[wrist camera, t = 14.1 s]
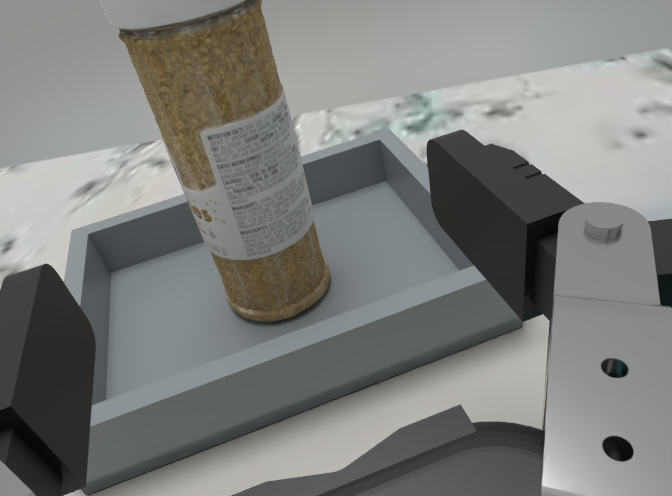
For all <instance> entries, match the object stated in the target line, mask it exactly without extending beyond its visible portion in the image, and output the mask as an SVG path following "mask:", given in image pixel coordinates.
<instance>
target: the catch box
mask: <svg viewBox="0 0 672 496" xmlns="http://www.w3.org/2000/svg"><path fill="white" fill-rule="evenodd" d="M301 161H302V165H303V169H304V174H305V178H306V182H307V186H308V190H309V195H310V199H311V203H312V207H313V212H314V219H313V221H314V223H315V227H316V231H317V236H318V240H319V244H320V248H321V251H322V255H323V257H324V258H325V259H326V261H327V264H328V266H329V271H330V279H329V283H328V287H327V289H326V291H325V293H324V295H323V296H322V297H321V298H320V299H319V300H318V301H317V302H316V303H315V304H313V305H312V306H311V307H309V308H308V309H306V310H304V311H302V312H300V313H299V314H297V315H295V316H292V317H290V318H286V319H282V320H278V321H272V322H260V321H255V320H248V319H246V318H244V317H243V316H241V315H239V314H238V313H236V312H235V311H234V310H233V309H232V308H231V307H230V305H229V303H228V301H227V299H226V296H225V286H224V284H223V282H222V278H221V276H220V273H219V271H218V269H217V267H216V265H215V262H214V259H213V257H212V255H211V252H210V250H209V249H208V247H207V246H206V244H205V242H204V240H203V238H202V235H201V233H200V230H199V228H198V225H197V223H196V220H195V218H194V216H193V213H192V211H191V208H190V206H189V203H188V201H187V198H186V196H185V194H184V195H180V196H177V197H174V198H171V199H168V200H165V201H162V202H159V203H156V204H152V205H149V206H146V207H143V208H140V209H137V210H134V211H131V212H128V213H124V214H121V215H118V216H115V217H112V218H109V219H106V220H103V221H100V222H96V223H93V224H90V225H87V226H84V227H81V228H78V229H75V230H72V233H71V239H70V246H69V252H68V259H67V266H66V272H65V279H64V284H65V285H66V287H67V288H68V290H69V291H70V293H71V294H72V296H73V297H74V299H75V300H76V302H77V303H78V305H79V306H80V308H81V309H82V310H83V312H84V313H85V315H86V316H87V318H88V320H89V322H90V324H91V326H92V329H93V332H94V336H95V341H96V354H95V368H94V382H93V396H92V410H91V423H90V437H89V451H88V465H87V479H86V487H84V488H82V489H81V490H82V491H83V492H84V493H85V494H86V495H89V494H92V493H94V492H97V491H99V490H102V489H105V488H107V487H110V486H112V485H115V484H117V483H120V482H123V481H125V480H128V479H130V478H133V477H135V476H138V475H141V474H143V473H146V472H148V471H151V470H154V469H156V468H159V467H161V466H164V465H166V464H169V463H172V462H174V461H177V460H179V459H182V458H184V457H187V456H190V455H192V454H195V453H197V452H200V451H202V450H205V449H208V448H210V447H213V446H215V445H218V444H221V443H223V442H226V441H228V440H231V439H233V438H236V437H239V436H241V435H244V434H246V433H249V432H251V431H254V430H257V429H259V428H262V427H264V426H267V425H270V424H272V423H275V422H277V421H280V420H282V419H285V418H288V417H290V416H293V415H295V414H298V413H300V412H303V411H306V410H308V409H311V408H313V407H316V406H318V405H321V404H324V403H326V402H329V401H331V400H334V399H337V398H339V397H342V396H344V395H347V394H349V393H352V392H355V391H357V390H360V389H362V388H365V387H367V386H370V385H373V384H375V383H378V382H380V381H383V380H386V379H388V378H391V377H393V376H396V375H398V374H401V373H404V372H406V371H409V370H411V369H414V368H416V367H419V366H422V365H424V364H427V363H429V362H432V361H434V360H437V359H440V358H442V357H445V356H447V355H450V354H453V353H455V352H458V351H460V350H463V349H465V348H468V347H471V346H473V345H476V344H478V343H481V342H483V341H486V340H489V339H491V338H494V337H496V336H499V335H502V334H504V333H507V332H509V331H512V330H514V329H517V328H520V327H522V324H523V321H522V320H521V319H520V318H519V317H518V316H517V314H516V313H515V312H514V311H513V310H512V309H511V308H510V306H509V305H508V304H507V303H506V302H505V301H504V299H503V298H502V297H501V296H500V295H499V294H498V293H497V291H496V290H495V289H494V288H493V287H492V286H491V284H490V283H489V282H488V281H487V280H486V279H485V277H484V276H483V275H482V274H481V273H480V272H479V271H478V269H477V268H476V267H475V266H474V265H473V264H472V262H471V261H470V260H469V259H468V258H467V257H466V256H465V254H464V253H463V252H462V251H461V250H460V249H459V247H458V246H457V245H456V244H455V243H454V242H453V240H452V239H451V238H450V237H449V236H448V235H447V234H446V232H445V231H444V230H443V229H442V228H441V226H440V225H439V223H438V221H437V219H436V217H435V215H434V212H433V208H432V204H431V196H430V184H429V173H428V167H427V166H426V165H425V164H424V163H423V162H422V161H421V160H420V159H419V158H418V157H417V156H416V155H415V154H414V153H413V152H412V151H411V150H410V149H409V148H408V147H407V146H406V145H405V144H404V143H403V142H402V141H401V140H400V139H399V138H398V137H397V136H396V135H395V134H394V133H393V132H392V131H391V130H390V129H386V130H383V131H379V132H376V133H373V134H370V135H367V136H364V137H361V138H358V139H355V140H351V141H348V142H345V143H342V144H339V145H336V146H333V147H330V148H327V149H323V150H320V151H317V152H314V153H311V154H308V155H305V156H302V157H301Z"/></svg>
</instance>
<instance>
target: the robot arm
mask: <svg viewBox="0 0 672 496" xmlns="http://www.w3.org/2000/svg"><path fill="white" fill-rule="evenodd" d="M427 162H428V173H429V184H430V196H431V204H432V208H433V212H434V215H435V217H436V219H437V221H438V223H439V225H440V226H441V228H442V229H443V230H444V231H445V232H446V234H447V235H448V236H449V237H450V238H451V239H452V240H453V242H454V243H455V244H456V245H457V246H458V247H459V249H460V250H461V251H462V252H463V253H464V254H465V256H466V257H467V258H468V259H469V260H470V261H471V262H472V264H473V265H474V266H475V267H476V268H477V269H478V271H479V272H480V273H481V274H482V275H483V276H484V277H485V279H486V280H487V281H488V282H489V283H490V284H491V286H492V287H493V288H494V289H495V290H496V291H497V293H498V294H499V295H500V296H501V297H502V298H503V299H504V301H505V302H506V303H507V304H508V305H509V306H510V308H511V309H512V310H513V311H514V312H515V313H516V314H517V316H518V317H519V318H520V319H521V320H522V321H526V320H529V319H531V318H534V317H536V316H539V315H542V314H544V315H545V316H546V318H547V319H548V320H549V321H550V324H549V336H548V350H547V364H546V378H545V391H544V405H543V418H542V430H540V429H537V428H534V427H531V426H526V425H521V424H516V423H507V422H476V423H472V422H471V421H470V419H469V417H468V416H467V414H466V413H465V411H464V409H463V408H462V406H461V404H460V405H458V406H455V407H453V408H450V409H448V410H445V411H443V412H440V413H438V414H435V415H433V416H430V417H428V418H425V419H423V420H420V421H418V422H415V423H413V424H410V425H408V426H405V427H403V428H400V429H398V430H397V431H396V432H394V433H393V434H391V435H390V436H389V437H387V438H386V439H384V440H383V441H382V442H380V443H379V444H377V445H376V446H375V447H373V448H372V449H370V450H369V451H368V452H366V453H365V454H363V455H362V456H361V457H359V458H358V459H356V460H355V461H354V462H352V463H351V464H349V465H348V466H347V467H345V468H343V469H342V470H339V471H337V472H332V473H325V474H318V475H311V476H304V477H297V478H290V479H283V480H276V481H268V482H265V483H262V484H260V485H257V486H254V487H252V488H249V489H247V490H244V491H242V492H239V493H237V494H234V495H232V496H672V219H666V220H657V221H647V220H646V219H645V218H644V217H643V216H642V215H641V214H640V213H638V212H636V211H635V210H633V209H631V208H628V207H625V206H622V205H618V204H613V203H604V202H594V203H586V204H585V203H583V202H582V201H581V200H579V199H578V198H577V197H575V196H574V195H572V194H571V193H570V192H568V191H567V190H566V189H564V188H563V187H562V186H560V185H559V184H558V183H556V182H555V181H554V180H552V179H551V178H549V177H548V176H547V175H545V174H542V173H541V171H540V170H539V169H537V168H536V167H535V166H533V165H532V164H531V165H529V162H528V161H526V160H525V159H524V158H522V157H521V156H520V155H518V154H517V153H516V152H514V151H512V150H509V149H506V148H503V147H500V146H497V145H494V144H489V145H486V146H484V145H483V144H481V143H480V142H479V141H478V140H476V139H475V138H474V137H472V136H471V135H470V134H469V133H467V132H466V131H465V130H459V131H455V132H452V133H449V134H446V135H443V136H440V137H437V138H434V139H431V140H429V141H428V143H427ZM95 354H96V341H95V336H94V332H93V329H92V326H91V324H90V322H89V320H88V318H87V316H86V315H85V313H84V312H83V310H82V309H81V308H80V306H79V305H78V303H77V302H76V300H75V299H74V297H73V296H72V294H71V293H70V291H69V290H68V288H67V287H66V285H65V284H64V282H63V281H62V279H61V278H60V276H59V275H58V273H57V272H56V271H55V269H54V268H53V267H52V266H50V265H49V264H43V265H40V266H37V267H34V268H31V269H28V270H25V271H22V272H19V273H16V274H13V275H10V276H7V277H5V279H4V281H3V283H2V287H1V290H0V496H63V495H66V494H69V493H71V492H74V491H76V490H79V489H82V488H84V487H86V479H87V465H88V451H89V437H90V423H91V410H92V396H93V382H94V368H95Z"/></svg>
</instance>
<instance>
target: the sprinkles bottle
mask: <svg viewBox="0 0 672 496" xmlns="http://www.w3.org/2000/svg"><path fill="white" fill-rule="evenodd" d="M99 2H100V4H101V6H102V9H103V11H104V13H105V16H106V18H107V20H108V22H109V23H110V24H111V25H112V26H115V27H118V28H119V30H120V33H119V38H120V39H121V40H122V41H123V42H124V43H125V44H126V47H127V49H128V51H129V54H130V58H131V60H132V63H133V65H134V67H135V69H136V71H137V74H138V77H139V80H140V82H141V84H142V86H143V89H144V92H145V94H146V97H147V100H148V102H149V104H150V106H151V109H152V111H153V113H154V116H155V120H156V122H157V124H158V126H159V128H160V131H161V135H162V138H163V142H164V145H165V147H166V150H167V152H168V155H169V157H170V159H171V162H172V164H173V167H174V169H175V172H176V174H177V177H178V179H179V181H180V184H181V186H182V189H183V191H184V194H185V196H186V198H187V201H188V203H189V206H190V208H191V211H192V213H193V216H194V218H195V220H196V223H197V225H198V228H199V230H200V233H201V235H202V238H203V240H204V242H205V244H206V246H207V247H208V249H209V250H210V252H211V255H212V257H213V259H214V262H215V265H216V267H217V269H218V271H219V273H220V276H221V278H222V282H223V284H224V286H225V296H226V299H227V301H228V303H229V305H230V307H231V308H232V309H233V310H234V311H235V312H236V313H238V314H239V315H241V316H243V317H244V318H246V319H248V320H255V321H260V322H272V321H278V320H282V319H286V318H290V317H292V316H295V315H297V314H299V313H300V312H302V311H304V310H306V309H308V308H309V307H311V306H312V305H313V304H315V303H316V302H317V301H318V300H319V299H320V298H321V297H322V296H323V295H324V293H325V291H326V289H327V287H328V283H329V279H330V271H329V266H328V264H327V261H326V259H325V258H324V257H323V255H322V251H321V248H320V244H319V240H318V236H317V231H316V227H315V223H314V221H313V219H314V212H313V207H312V203H311V199H310V195H309V190H308V186H307V182H306V178H305V174H304V169H303V165H302V161H301V157H300V153H299V149H298V144H297V140H296V136H295V132H294V128H293V124H292V120H291V116H290V113H289V109H288V104H287V100H286V96H285V92H284V89H283V86H282V84H281V83H280V80H279V76H278V72H277V67H276V63H275V60H274V56H273V54H272V48H271V45H270V40H269V36H268V32H267V29H266V25H265V20H264V17H263V15H262V10H261V2H262V0H99Z"/></svg>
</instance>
